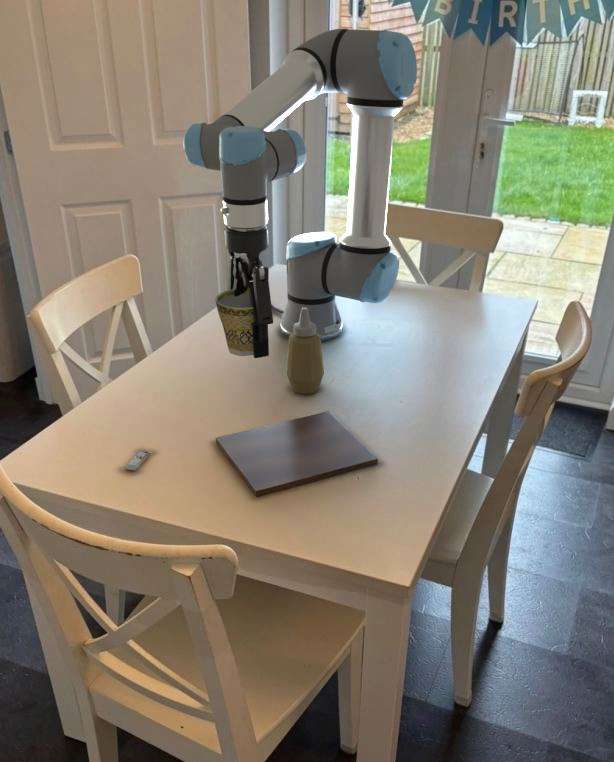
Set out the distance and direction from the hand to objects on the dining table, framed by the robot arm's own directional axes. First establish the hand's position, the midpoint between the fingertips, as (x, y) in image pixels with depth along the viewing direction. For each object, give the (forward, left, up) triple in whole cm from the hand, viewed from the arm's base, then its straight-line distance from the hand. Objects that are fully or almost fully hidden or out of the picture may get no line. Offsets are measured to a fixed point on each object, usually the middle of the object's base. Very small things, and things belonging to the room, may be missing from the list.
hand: (251, 346), depth 148 cm
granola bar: (+5, -25, -16) cm, 30 cm away
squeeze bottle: (-8, +15, -16) cm, 23 cm away
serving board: (+15, +2, -16) cm, 22 cm away
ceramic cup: (-1, 0, -1) cm, 1 cm away
